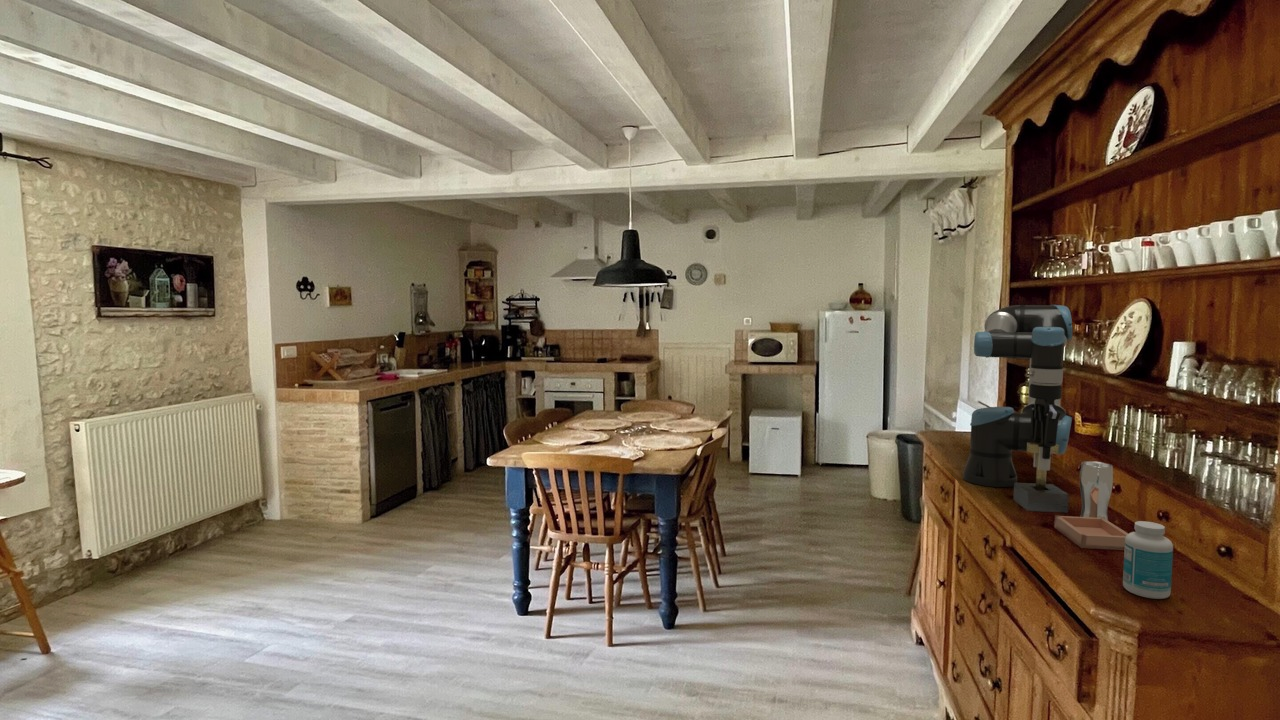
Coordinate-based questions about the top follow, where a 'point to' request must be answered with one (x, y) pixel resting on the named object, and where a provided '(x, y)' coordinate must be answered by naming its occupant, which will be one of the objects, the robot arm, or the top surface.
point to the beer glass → (1095, 488)
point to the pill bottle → (1148, 561)
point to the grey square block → (1041, 498)
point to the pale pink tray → (1091, 532)
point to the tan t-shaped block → (1039, 473)
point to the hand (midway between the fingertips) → (1041, 468)
